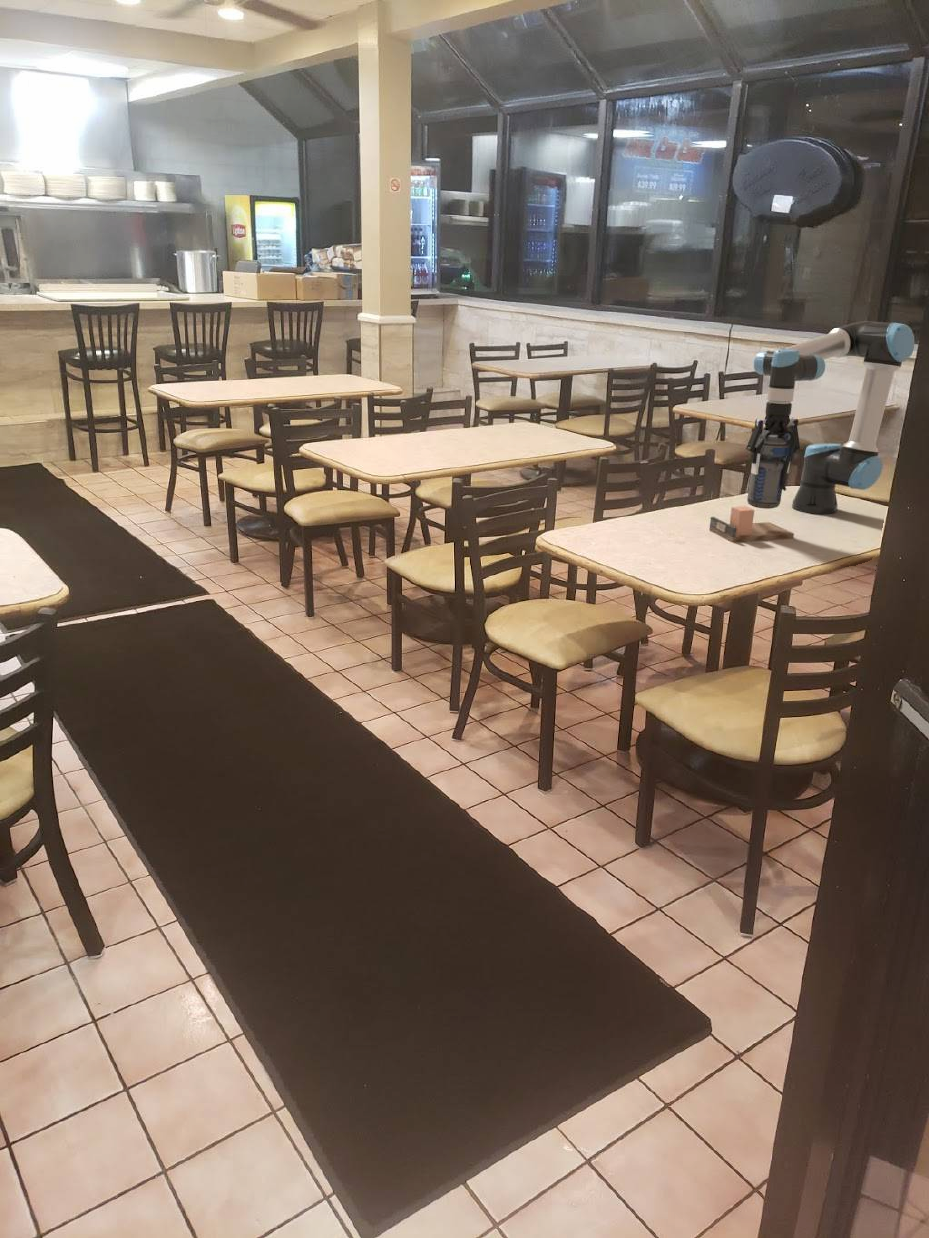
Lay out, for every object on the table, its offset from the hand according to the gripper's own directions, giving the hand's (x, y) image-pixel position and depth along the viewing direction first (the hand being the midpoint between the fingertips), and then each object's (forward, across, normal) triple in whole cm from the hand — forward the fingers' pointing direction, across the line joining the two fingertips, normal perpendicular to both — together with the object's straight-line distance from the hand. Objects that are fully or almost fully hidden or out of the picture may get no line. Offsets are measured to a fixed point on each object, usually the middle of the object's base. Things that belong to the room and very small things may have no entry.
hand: (769, 473), depth 300 cm
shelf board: (+20, +4, 0) cm, 20 cm away
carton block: (+18, +10, +3) cm, 21 cm away
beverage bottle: (+11, 0, 0) cm, 11 cm away
